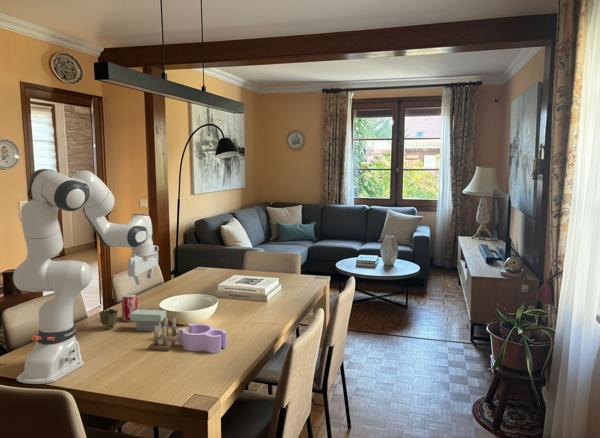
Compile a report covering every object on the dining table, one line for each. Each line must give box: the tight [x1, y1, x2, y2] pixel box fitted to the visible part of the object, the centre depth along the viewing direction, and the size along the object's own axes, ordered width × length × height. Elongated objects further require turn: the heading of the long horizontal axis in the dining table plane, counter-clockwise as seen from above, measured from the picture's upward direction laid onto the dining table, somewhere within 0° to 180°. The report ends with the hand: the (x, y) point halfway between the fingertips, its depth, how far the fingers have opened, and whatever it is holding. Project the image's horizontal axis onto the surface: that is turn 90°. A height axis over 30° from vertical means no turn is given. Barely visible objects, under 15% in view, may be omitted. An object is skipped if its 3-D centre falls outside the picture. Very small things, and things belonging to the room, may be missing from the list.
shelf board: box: [130, 308, 167, 323], centre depth 204 cm, size 14×6×3 cm, turn 84°
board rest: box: [135, 321, 162, 332], centre depth 204 cm, size 3×10×5 cm, turn 84°
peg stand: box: [148, 316, 179, 352], centre depth 189 cm, size 15×8×9 cm, turn 174°
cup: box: [99, 308, 118, 330], centre depth 205 cm, size 8×7×8 cm
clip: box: [177, 322, 228, 354], centre depth 187 cm, size 20×12×7 cm, turn 64°
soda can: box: [121, 293, 139, 323], centre depth 216 cm, size 7×7×12 cm
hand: (144, 281), depth 202 cm, fingers open, 8 cm apart
